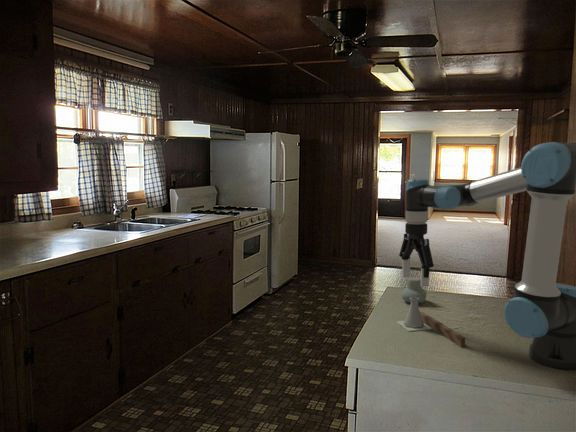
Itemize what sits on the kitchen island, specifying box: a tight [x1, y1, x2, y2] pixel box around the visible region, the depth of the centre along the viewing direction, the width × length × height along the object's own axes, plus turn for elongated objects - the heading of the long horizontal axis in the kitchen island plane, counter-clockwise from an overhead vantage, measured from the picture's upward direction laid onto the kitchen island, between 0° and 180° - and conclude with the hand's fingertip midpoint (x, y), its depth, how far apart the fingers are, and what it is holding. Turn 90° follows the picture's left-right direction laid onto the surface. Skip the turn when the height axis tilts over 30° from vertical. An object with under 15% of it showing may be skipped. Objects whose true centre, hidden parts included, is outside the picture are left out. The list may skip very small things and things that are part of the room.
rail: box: [420, 311, 466, 348], centre depth 172 cm, size 27×2×3 cm, turn 14°
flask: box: [403, 297, 424, 328], centre depth 178 cm, size 7×7×10 cm
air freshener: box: [401, 276, 427, 305], centre depth 208 cm, size 11×8×10 cm
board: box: [395, 320, 432, 332], centre depth 179 cm, size 10×9×1 cm
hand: (414, 281), depth 177 cm, fingers open, 13 cm apart
